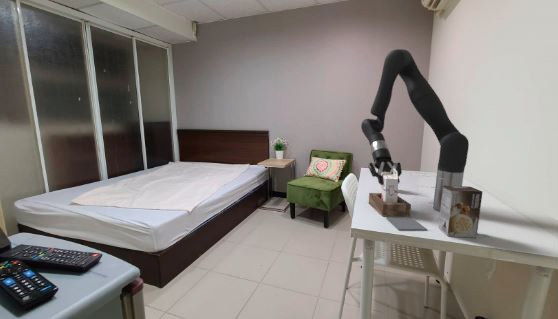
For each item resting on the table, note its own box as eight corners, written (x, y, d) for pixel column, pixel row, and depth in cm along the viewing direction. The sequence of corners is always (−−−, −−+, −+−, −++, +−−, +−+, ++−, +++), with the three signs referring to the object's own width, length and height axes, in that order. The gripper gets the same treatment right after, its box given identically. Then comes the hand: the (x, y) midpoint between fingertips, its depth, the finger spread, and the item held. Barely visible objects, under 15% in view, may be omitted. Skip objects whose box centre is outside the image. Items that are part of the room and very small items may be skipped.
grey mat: (411, 218, 97) (411, 217, 97) (426, 230, 87) (427, 229, 87) (386, 218, 97) (386, 217, 97) (398, 230, 87) (398, 229, 87)
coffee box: (465, 229, 88) (471, 186, 85) (477, 238, 81) (484, 191, 79) (437, 228, 89) (442, 185, 86) (446, 236, 83) (452, 190, 80)
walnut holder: (392, 203, 114) (393, 193, 113) (409, 216, 99) (411, 204, 99) (368, 203, 114) (369, 193, 113) (382, 216, 99) (383, 204, 98)
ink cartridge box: (380, 199, 111) (381, 167, 109) (392, 199, 110) (393, 167, 108) (384, 206, 103) (386, 171, 100) (397, 206, 102) (399, 171, 99)
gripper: (367, 147, 112) (375, 179, 102) (398, 147, 112) (410, 179, 102) (362, 157, 118) (370, 188, 108) (392, 157, 118) (403, 188, 108)
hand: (389, 184), depth 105 cm, fingers closed on ink cartridge box, 5 cm apart
